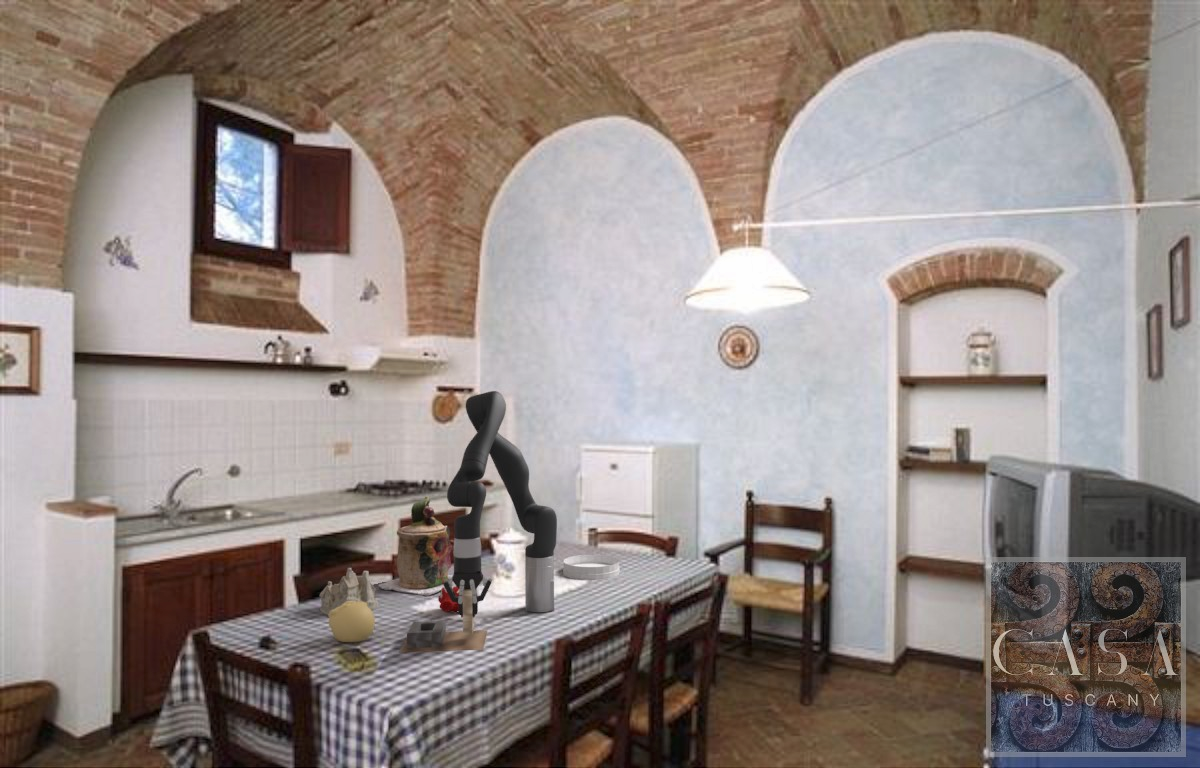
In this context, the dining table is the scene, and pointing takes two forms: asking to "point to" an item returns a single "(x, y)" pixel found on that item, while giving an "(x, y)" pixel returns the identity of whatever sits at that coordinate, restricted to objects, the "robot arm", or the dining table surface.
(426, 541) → the cookie jar
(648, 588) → the dining table surface
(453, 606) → the red-white knobbly ovoid
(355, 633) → the cream sphere
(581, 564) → the dish
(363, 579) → the ceramic cottage
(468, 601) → the beige rectangular bar
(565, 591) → the dining table surface
